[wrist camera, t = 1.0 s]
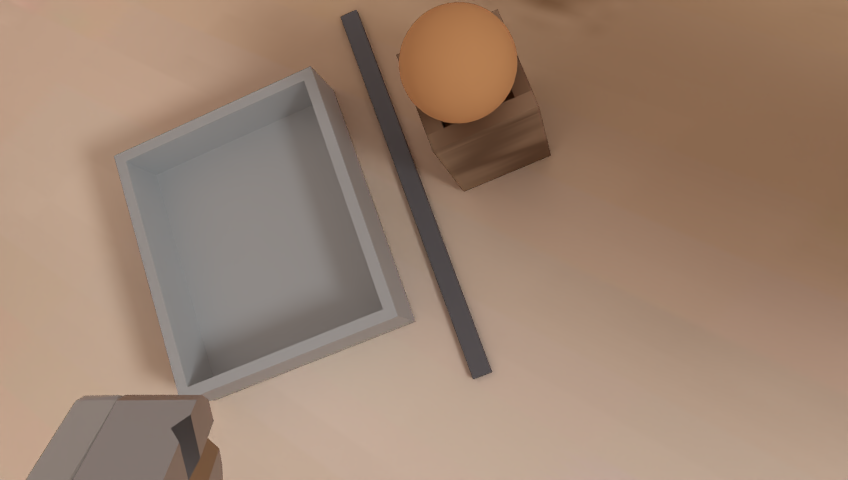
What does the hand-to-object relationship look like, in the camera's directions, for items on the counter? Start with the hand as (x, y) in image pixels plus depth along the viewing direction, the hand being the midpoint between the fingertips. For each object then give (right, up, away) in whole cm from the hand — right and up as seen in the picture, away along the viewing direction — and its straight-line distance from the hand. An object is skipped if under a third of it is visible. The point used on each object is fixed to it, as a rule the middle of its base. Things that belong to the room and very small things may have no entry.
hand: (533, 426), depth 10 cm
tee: (+2, +8, +32) cm, 33 cm away
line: (-2, +5, +33) cm, 33 cm away
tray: (-10, +2, +34) cm, 36 cm away
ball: (0, +10, +23) cm, 25 cm away
